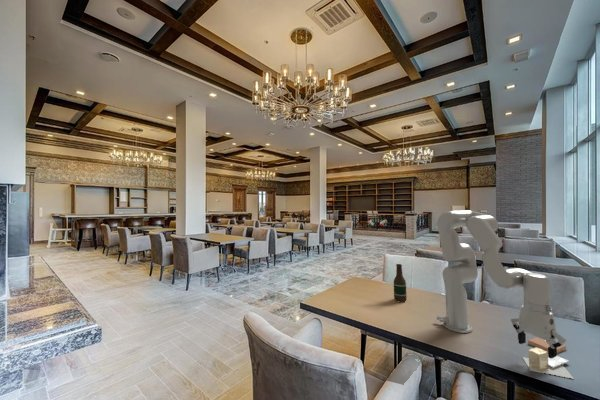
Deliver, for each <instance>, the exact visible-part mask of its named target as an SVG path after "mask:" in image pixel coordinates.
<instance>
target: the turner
mask: <svg viewBox="0 0 600 400" xmlns="http://www.w3.org/2000/svg"><path fill="white" fill-rule="evenodd" d="M527 351H528V358H529V366H531V367H533V368H535V369H537V370H539V371H542V370H545V369H547V368H549V366H550V367H552V368H554V367H557V366H560V365H563V366H564V365H565V364H567V363H568V364H569V363H570V360H568V359H565V358H563V357H561V356H558V355H557V356H556V357H554V358H549V357H548V352H547V351H544V350H542V349H540V348H537V347H534V348H530V349H528V350H527Z"/></svg>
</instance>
